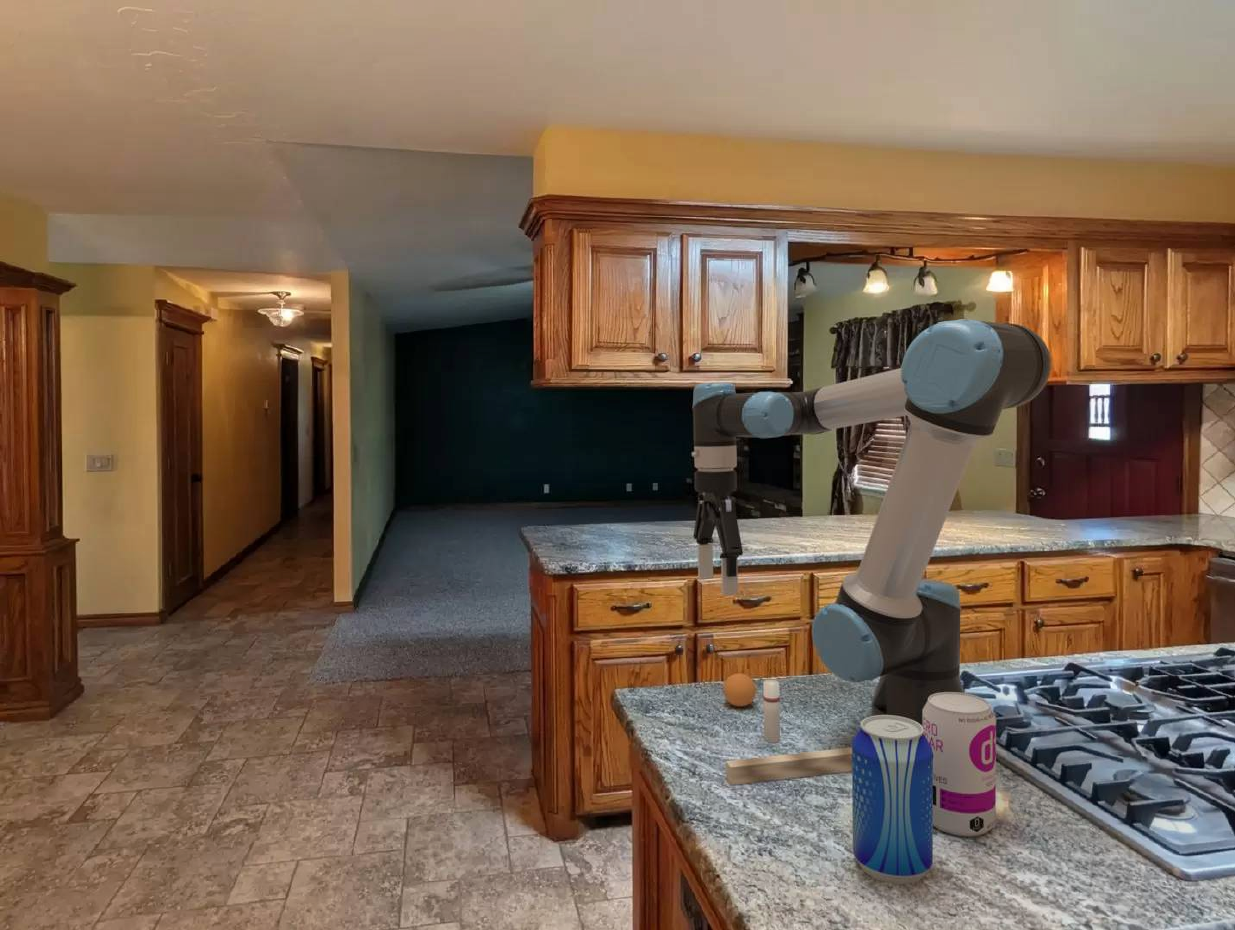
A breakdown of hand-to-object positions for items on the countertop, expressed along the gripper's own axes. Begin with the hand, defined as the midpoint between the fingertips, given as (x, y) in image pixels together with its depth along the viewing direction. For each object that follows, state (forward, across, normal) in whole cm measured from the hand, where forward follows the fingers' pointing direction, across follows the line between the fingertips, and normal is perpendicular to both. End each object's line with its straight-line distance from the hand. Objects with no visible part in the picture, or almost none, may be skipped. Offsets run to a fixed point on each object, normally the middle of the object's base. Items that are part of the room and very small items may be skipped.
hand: (717, 586), depth 149 cm
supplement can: (+19, +54, +12) cm, 58 cm away
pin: (+19, +25, 0) cm, 31 cm away
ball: (+16, +10, 0) cm, 19 cm away
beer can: (+19, +60, 0) cm, 63 cm away
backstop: (+19, +37, 0) cm, 41 cm away
